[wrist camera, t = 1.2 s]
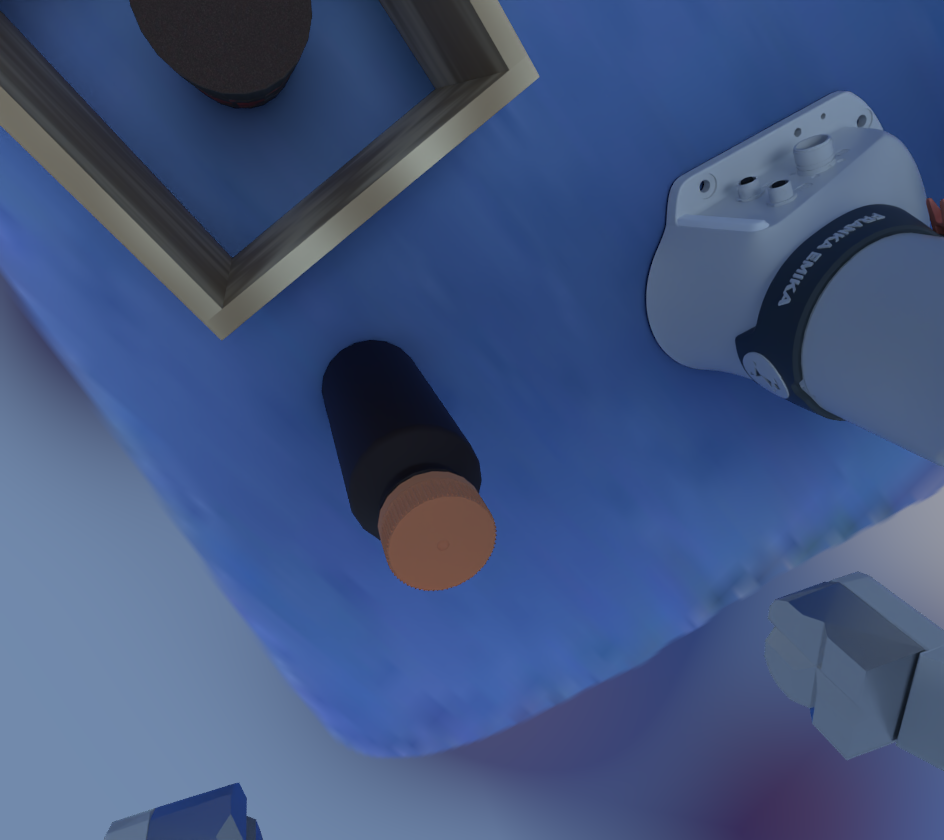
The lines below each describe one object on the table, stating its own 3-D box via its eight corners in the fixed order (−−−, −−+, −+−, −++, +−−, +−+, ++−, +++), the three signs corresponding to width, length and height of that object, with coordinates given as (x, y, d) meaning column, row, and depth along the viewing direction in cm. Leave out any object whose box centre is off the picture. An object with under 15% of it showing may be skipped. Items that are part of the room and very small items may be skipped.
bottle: (380, 318, 43) (463, 442, 26) (436, 390, 47) (544, 544, 29) (300, 379, 43) (329, 545, 26) (362, 447, 47) (424, 635, 29)
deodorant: (152, 9, 33) (85, -71, 20) (257, -35, 34) (258, -140, 21) (214, 126, 36) (191, 121, 23) (311, 83, 37) (341, 56, 24)
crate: (240, -255, 31) (230, -485, 19) (458, 93, 39) (539, 76, 28) (-47, -9, 31) (-223, -92, 20) (231, 281, 40) (221, 340, 28)
